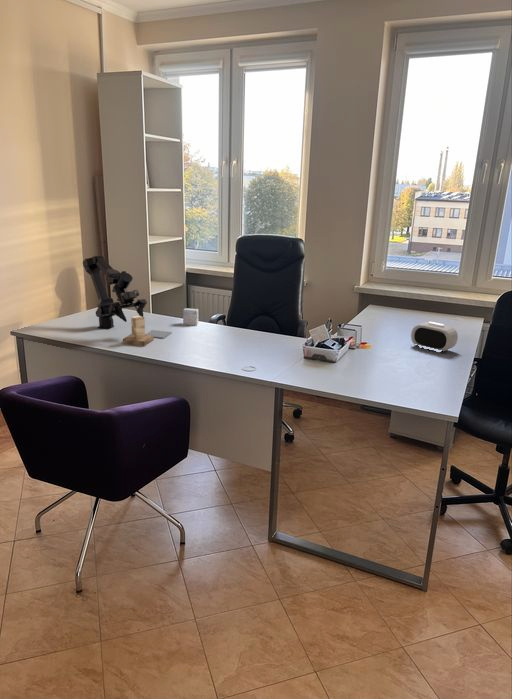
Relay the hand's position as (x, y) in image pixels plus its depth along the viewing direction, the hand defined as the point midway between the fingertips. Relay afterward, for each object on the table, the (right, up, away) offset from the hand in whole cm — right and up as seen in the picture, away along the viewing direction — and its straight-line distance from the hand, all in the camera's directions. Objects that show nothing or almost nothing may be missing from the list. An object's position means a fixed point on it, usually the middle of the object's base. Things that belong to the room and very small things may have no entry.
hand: (134, 320), depth 246 cm
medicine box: (+23, 0, +37) cm, 43 cm away
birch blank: (+2, -8, 0) cm, 8 cm away
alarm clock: (+149, -14, +12) cm, 151 cm away
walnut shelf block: (+2, -11, +1) cm, 11 cm away
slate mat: (+9, -7, +14) cm, 18 cm away
